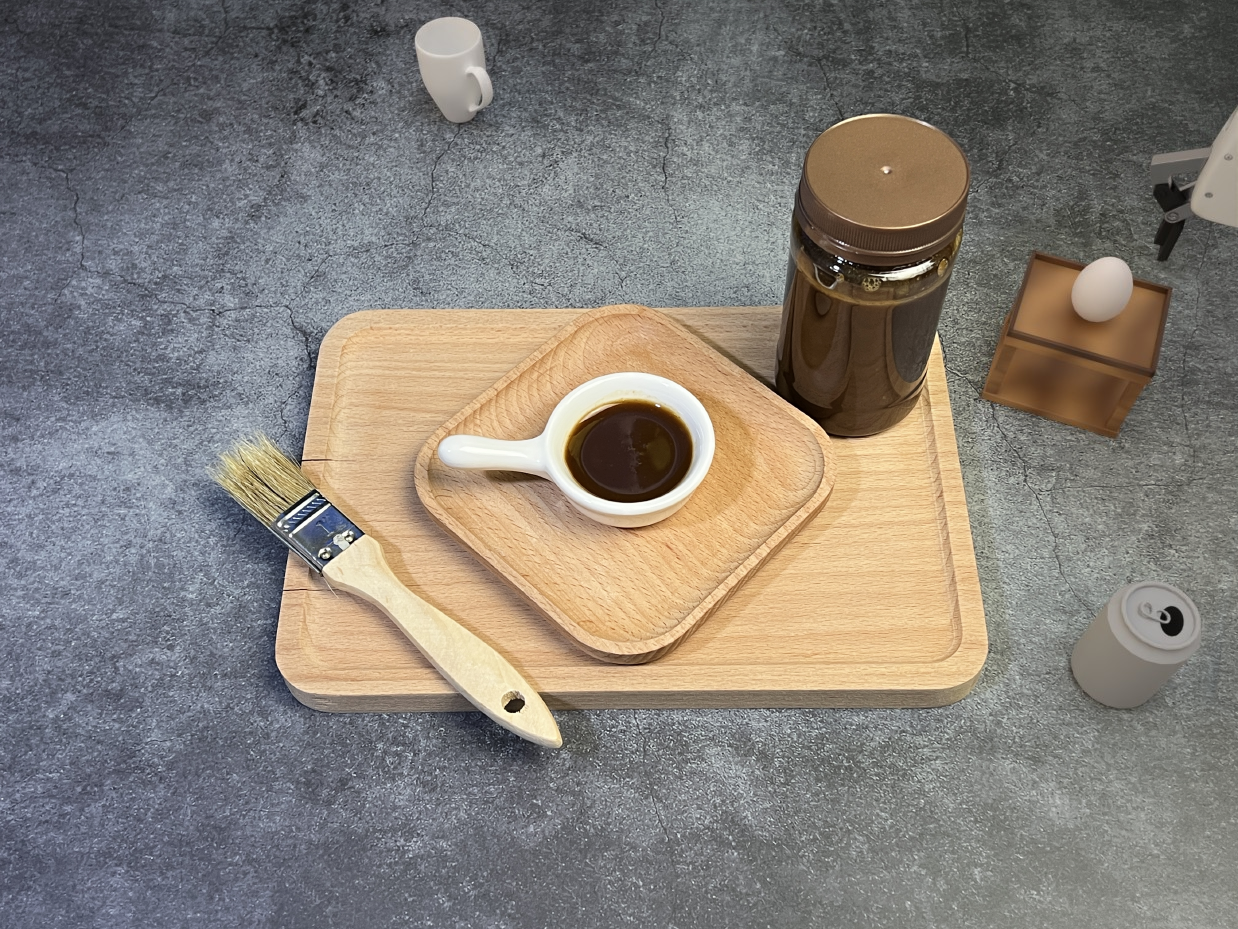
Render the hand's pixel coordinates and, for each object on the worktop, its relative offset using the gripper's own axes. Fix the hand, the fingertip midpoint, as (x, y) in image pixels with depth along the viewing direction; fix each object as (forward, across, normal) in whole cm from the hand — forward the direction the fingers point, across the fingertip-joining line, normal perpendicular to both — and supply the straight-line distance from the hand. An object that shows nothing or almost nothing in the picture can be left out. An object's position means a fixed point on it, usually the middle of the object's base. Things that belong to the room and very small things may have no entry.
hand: (1224, 266), depth 91 cm
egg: (+17, -7, +8) cm, 20 cm away
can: (+27, +4, -24) cm, 37 cm away
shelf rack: (+26, -7, +8) cm, 29 cm away
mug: (+25, -86, +22) cm, 92 cm away
